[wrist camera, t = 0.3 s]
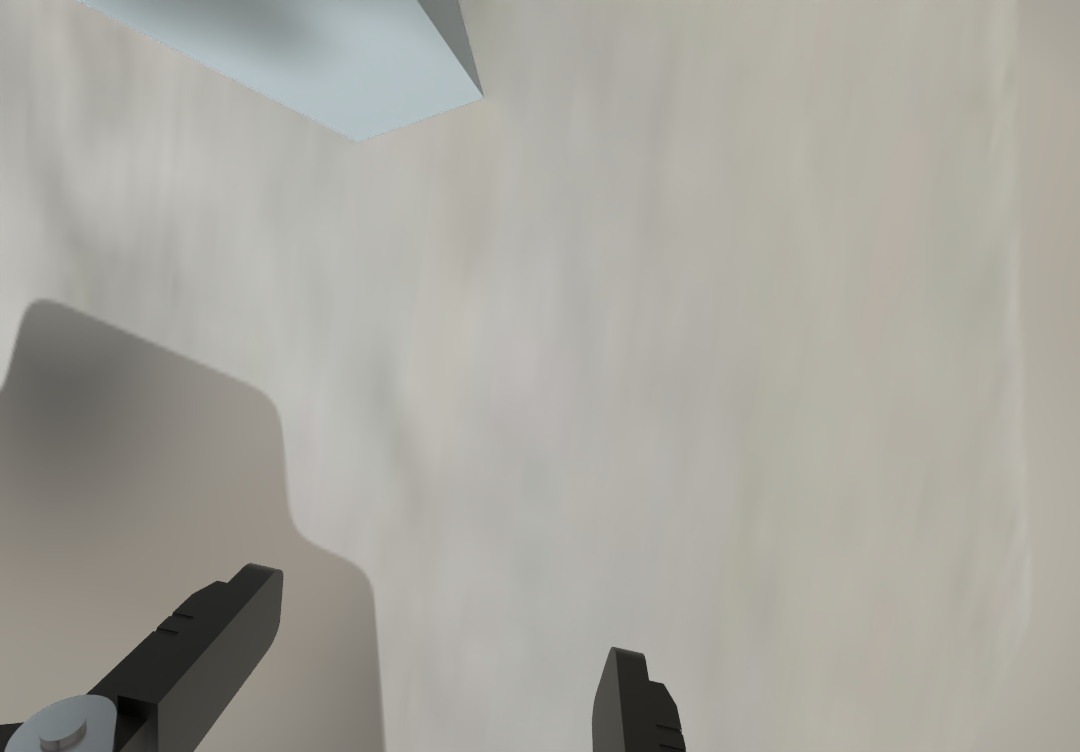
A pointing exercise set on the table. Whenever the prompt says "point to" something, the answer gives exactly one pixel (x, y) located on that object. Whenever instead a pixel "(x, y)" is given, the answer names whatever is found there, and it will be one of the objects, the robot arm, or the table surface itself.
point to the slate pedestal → (324, 54)
